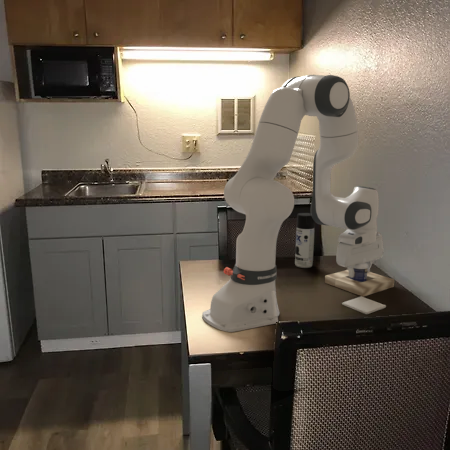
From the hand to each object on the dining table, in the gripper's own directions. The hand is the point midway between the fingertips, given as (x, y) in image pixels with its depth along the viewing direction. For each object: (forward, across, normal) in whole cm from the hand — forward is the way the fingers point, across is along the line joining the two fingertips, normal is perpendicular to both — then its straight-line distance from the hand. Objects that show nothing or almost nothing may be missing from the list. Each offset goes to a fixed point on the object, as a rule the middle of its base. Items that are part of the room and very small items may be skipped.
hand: (359, 274), depth 159 cm
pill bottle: (+4, 0, 0) cm, 4 cm away
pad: (+4, +14, +13) cm, 19 cm away
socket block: (+4, 0, 0) cm, 4 cm away
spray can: (+4, 0, -26) cm, 26 cm away
